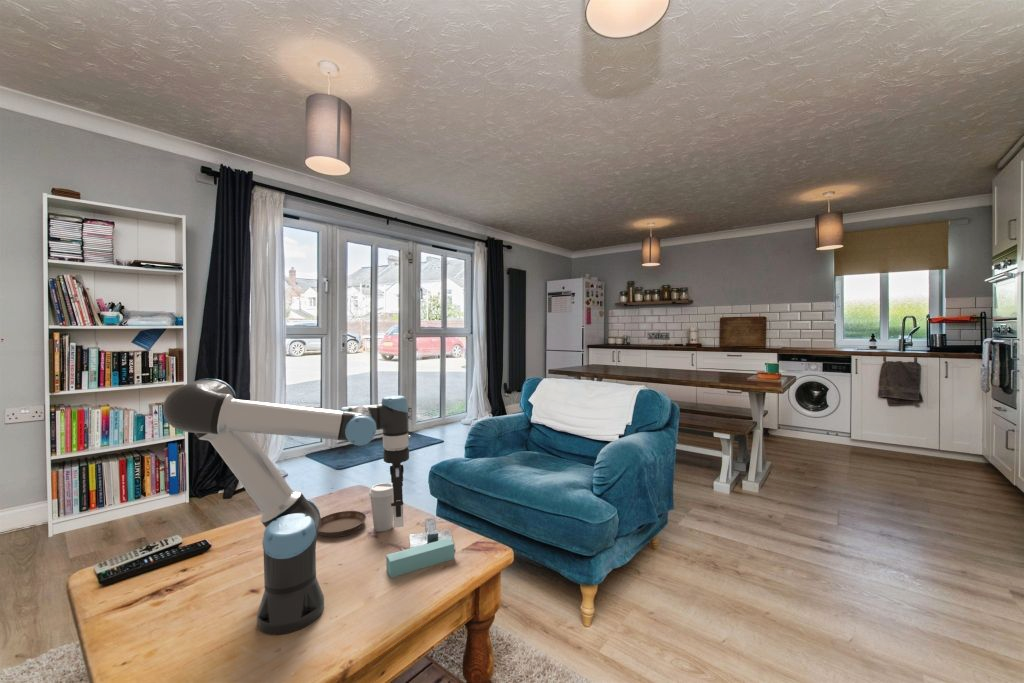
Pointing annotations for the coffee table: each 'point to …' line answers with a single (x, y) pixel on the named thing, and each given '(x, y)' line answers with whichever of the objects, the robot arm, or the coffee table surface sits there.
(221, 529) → the coffee table surface
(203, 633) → the coffee table surface
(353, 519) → the plant saucer
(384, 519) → the coffee cup
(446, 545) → the bar
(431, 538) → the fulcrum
